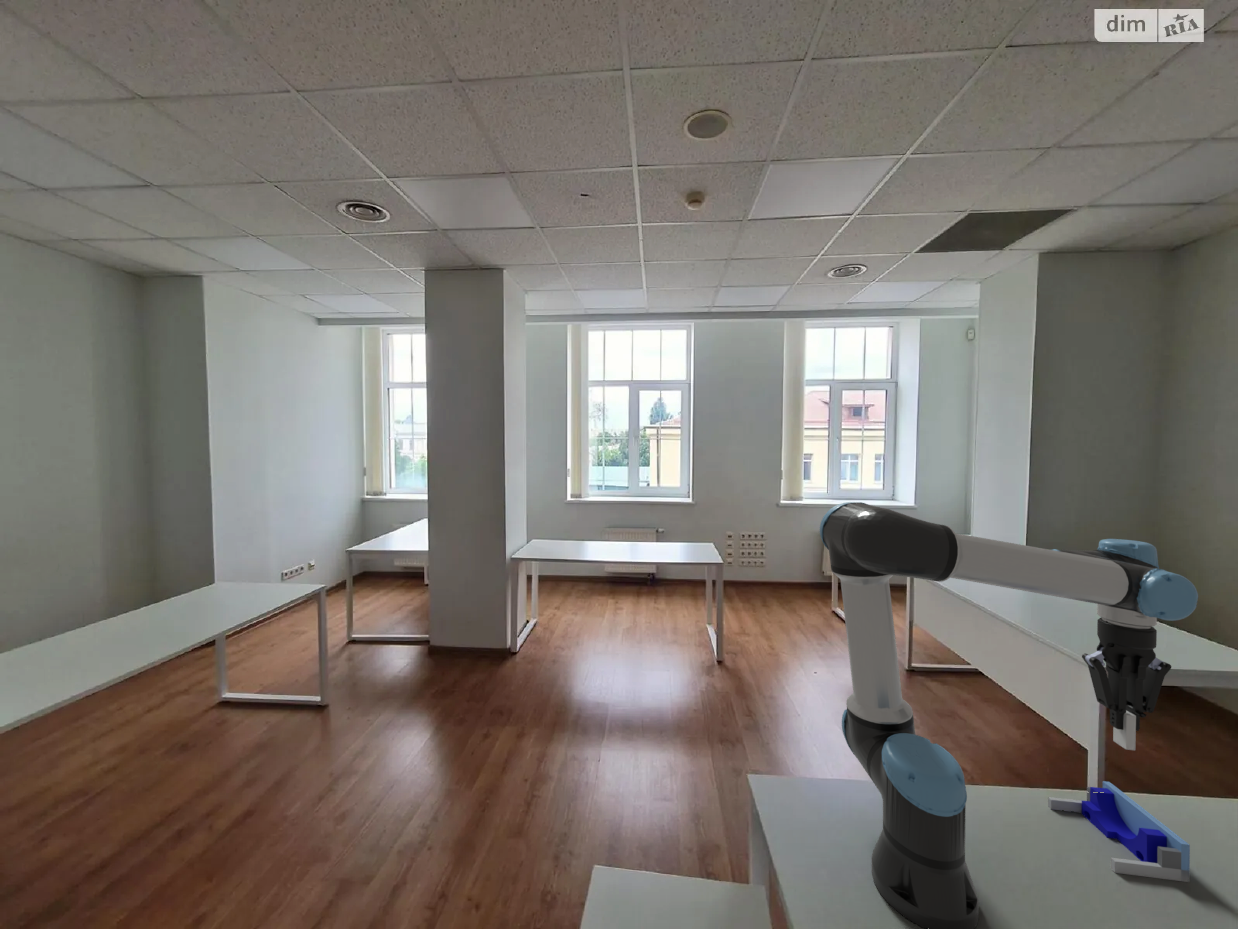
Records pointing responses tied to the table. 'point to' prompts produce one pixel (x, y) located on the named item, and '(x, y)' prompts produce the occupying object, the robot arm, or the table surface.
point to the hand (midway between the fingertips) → (1124, 745)
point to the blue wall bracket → (1169, 859)
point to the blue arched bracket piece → (1121, 826)
